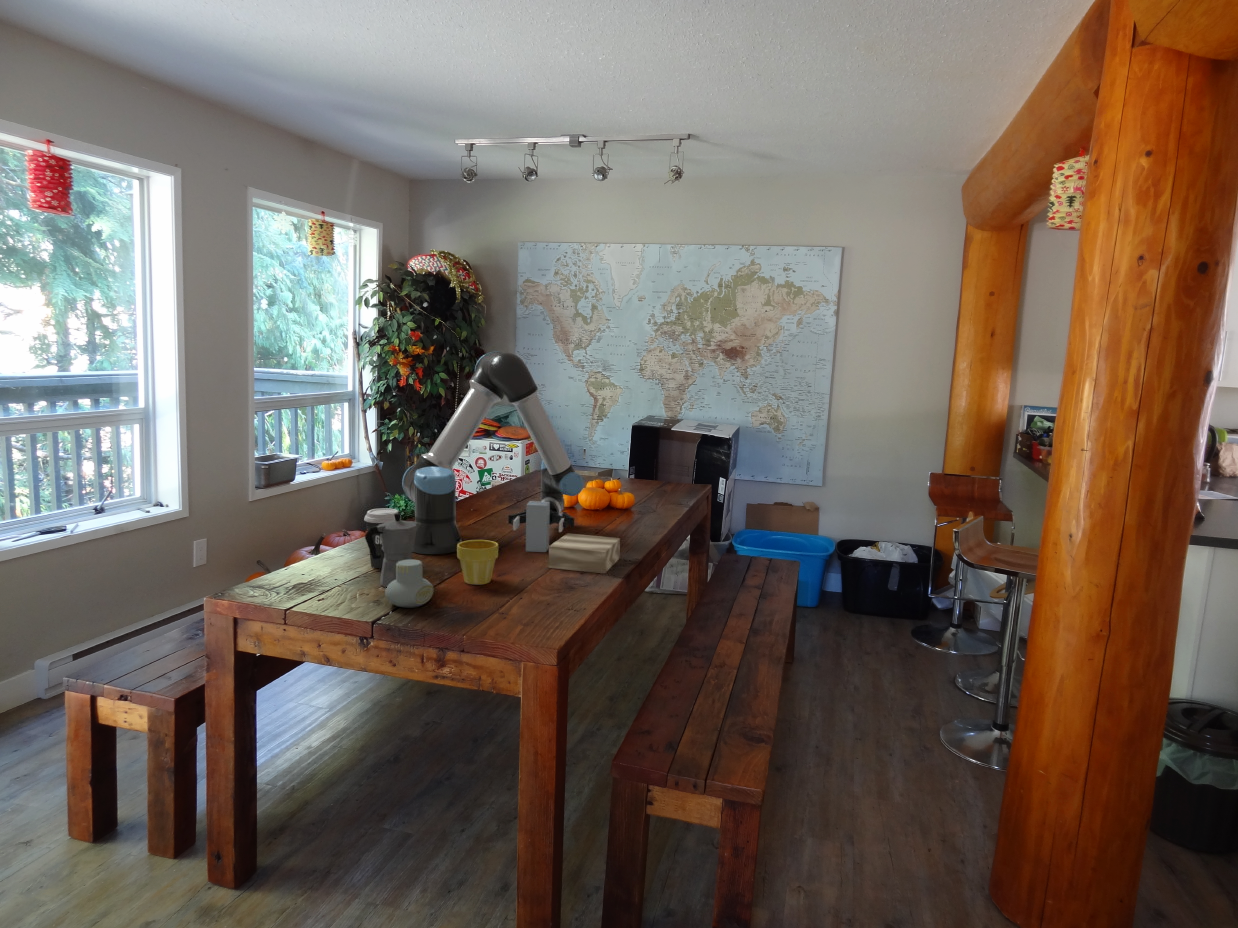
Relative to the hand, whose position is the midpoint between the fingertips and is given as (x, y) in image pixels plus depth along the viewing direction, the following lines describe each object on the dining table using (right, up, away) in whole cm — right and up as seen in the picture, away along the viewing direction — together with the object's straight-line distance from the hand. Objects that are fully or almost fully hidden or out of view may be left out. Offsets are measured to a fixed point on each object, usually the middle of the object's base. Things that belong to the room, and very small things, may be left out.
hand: (537, 526), depth 232 cm
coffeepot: (-32, -12, -34) cm, 48 cm away
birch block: (+14, -9, -10) cm, 20 cm away
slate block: (0, -7, +4) cm, 8 cm away
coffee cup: (-40, -9, -18) cm, 45 cm away
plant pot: (-12, -12, -29) cm, 34 cm away
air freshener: (-25, -14, -48) cm, 56 cm away
